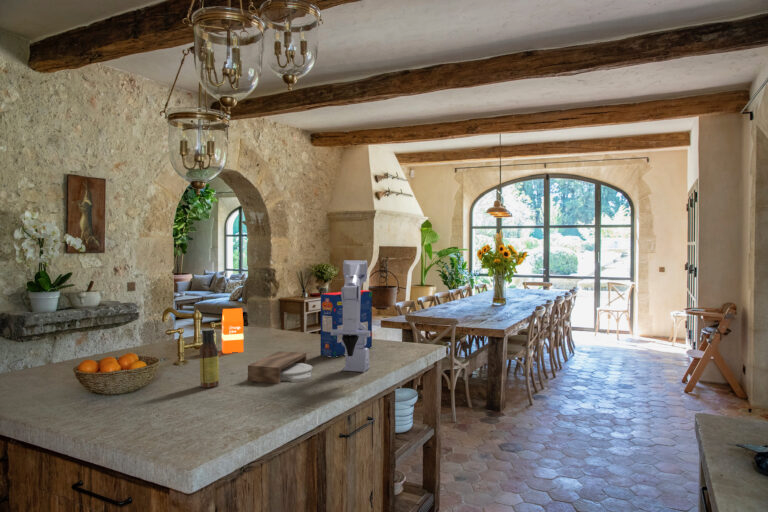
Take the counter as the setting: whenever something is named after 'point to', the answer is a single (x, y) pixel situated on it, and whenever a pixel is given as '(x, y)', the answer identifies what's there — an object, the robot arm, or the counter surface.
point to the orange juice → (232, 330)
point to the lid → (296, 372)
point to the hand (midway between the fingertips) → (350, 355)
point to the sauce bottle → (209, 360)
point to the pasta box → (341, 321)
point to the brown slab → (273, 366)
